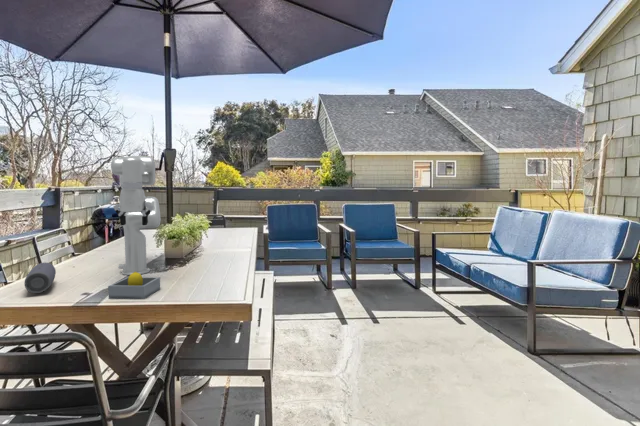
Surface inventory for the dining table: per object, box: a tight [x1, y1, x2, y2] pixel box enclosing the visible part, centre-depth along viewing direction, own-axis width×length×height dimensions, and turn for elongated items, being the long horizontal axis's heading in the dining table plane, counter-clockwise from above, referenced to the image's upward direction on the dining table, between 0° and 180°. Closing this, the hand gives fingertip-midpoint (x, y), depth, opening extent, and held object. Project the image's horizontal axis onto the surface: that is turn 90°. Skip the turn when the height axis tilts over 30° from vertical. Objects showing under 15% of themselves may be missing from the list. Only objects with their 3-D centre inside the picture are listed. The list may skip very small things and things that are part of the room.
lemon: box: [128, 272, 143, 286], centre depth 153 cm, size 6×6×8 cm
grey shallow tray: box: [107, 276, 161, 300], centre depth 153 cm, size 14×14×5 cm
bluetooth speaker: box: [23, 262, 57, 294], centre depth 159 cm, size 23×9×10 cm, turn 31°
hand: (134, 225), depth 167 cm, fingers open, 9 cm apart
